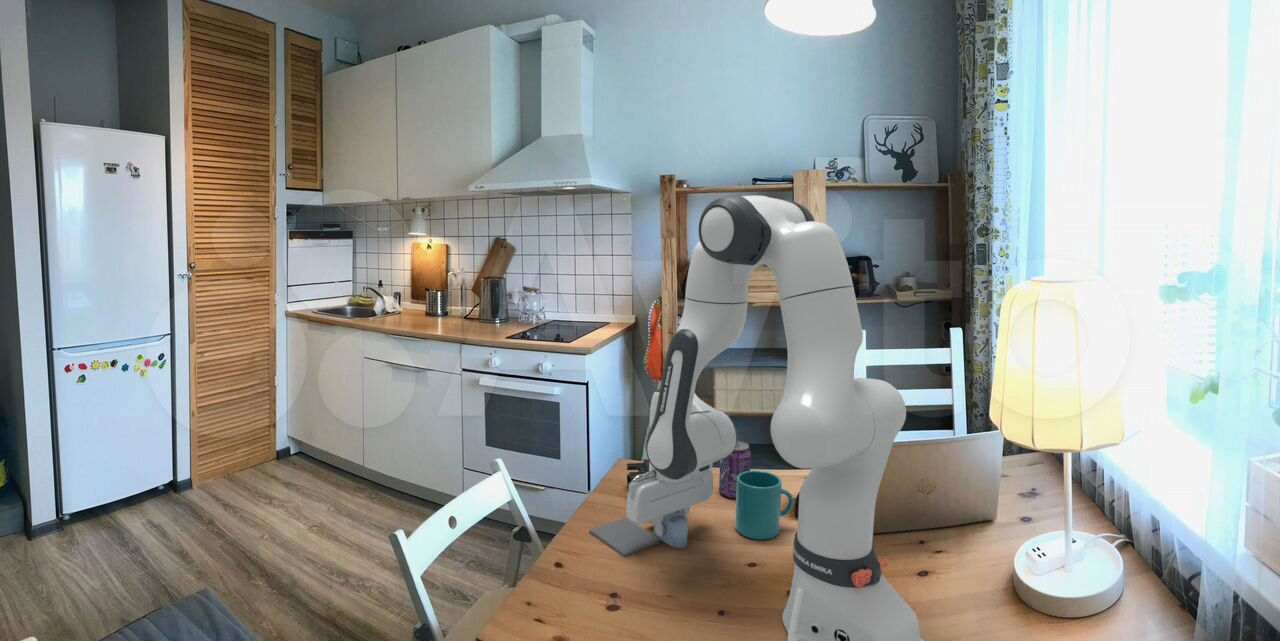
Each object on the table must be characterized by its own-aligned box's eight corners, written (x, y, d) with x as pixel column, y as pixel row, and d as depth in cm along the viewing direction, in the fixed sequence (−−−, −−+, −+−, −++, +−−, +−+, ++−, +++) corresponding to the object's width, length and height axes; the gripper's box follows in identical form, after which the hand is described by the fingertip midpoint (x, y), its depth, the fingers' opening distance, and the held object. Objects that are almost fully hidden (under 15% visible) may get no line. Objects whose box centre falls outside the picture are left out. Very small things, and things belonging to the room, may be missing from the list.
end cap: (661, 502, 140) (661, 474, 139) (630, 503, 140) (630, 475, 139) (655, 484, 150) (656, 458, 149) (626, 485, 149) (626, 459, 148)
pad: (660, 542, 122) (660, 539, 122) (624, 556, 117) (624, 553, 117) (624, 519, 132) (624, 517, 132) (589, 532, 126) (589, 529, 126)
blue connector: (690, 544, 122) (691, 520, 121) (677, 550, 119) (678, 525, 119) (656, 523, 130) (656, 501, 129) (643, 528, 128) (643, 505, 127)
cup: (799, 539, 124) (802, 486, 122) (741, 542, 123) (743, 488, 121) (784, 518, 133) (786, 469, 131) (730, 521, 132) (731, 471, 130)
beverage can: (719, 486, 149) (720, 439, 147) (748, 488, 148) (750, 440, 146) (718, 499, 142) (720, 449, 140) (749, 501, 141) (751, 451, 139)
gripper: (639, 483, 113) (639, 553, 115) (718, 458, 125) (717, 522, 127) (619, 472, 118) (619, 540, 120) (697, 449, 130) (696, 511, 132)
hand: (670, 530), depth 124 cm, fingers closed on blue connector, 3 cm apart
